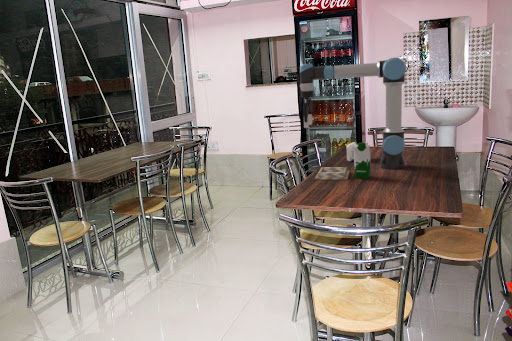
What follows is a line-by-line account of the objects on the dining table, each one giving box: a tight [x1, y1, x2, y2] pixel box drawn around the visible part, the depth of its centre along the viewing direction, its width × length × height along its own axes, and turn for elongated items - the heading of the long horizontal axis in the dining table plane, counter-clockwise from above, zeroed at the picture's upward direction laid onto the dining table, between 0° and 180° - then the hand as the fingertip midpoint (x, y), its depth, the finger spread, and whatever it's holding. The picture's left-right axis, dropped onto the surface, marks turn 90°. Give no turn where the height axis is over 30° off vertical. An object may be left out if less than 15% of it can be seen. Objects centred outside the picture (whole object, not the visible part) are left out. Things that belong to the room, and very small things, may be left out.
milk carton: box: [353, 141, 372, 180], centre depth 242 cm, size 9×9×20 cm
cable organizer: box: [346, 141, 369, 162], centre depth 290 cm, size 15×11×12 cm
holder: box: [314, 166, 350, 181], centre depth 252 cm, size 18×18×4 cm
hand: (308, 126), depth 261 cm, fingers open, 13 cm apart
